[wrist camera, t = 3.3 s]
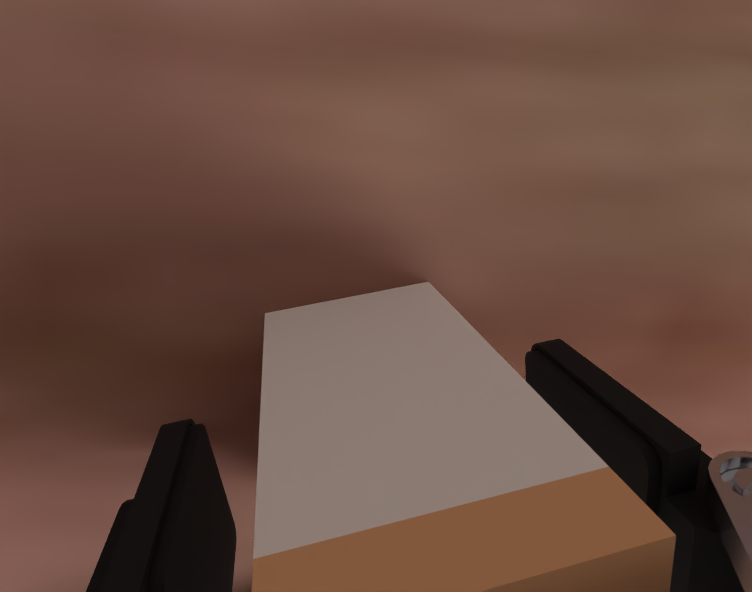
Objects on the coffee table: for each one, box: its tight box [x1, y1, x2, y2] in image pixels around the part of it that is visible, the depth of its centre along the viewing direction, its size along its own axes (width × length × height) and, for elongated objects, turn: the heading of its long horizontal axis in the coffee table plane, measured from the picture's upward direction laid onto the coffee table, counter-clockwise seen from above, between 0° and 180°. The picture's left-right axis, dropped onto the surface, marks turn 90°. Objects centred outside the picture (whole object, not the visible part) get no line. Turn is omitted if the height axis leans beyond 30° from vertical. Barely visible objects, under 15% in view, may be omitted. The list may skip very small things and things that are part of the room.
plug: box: [252, 282, 676, 592], centre depth 9 cm, size 4×5×8 cm
